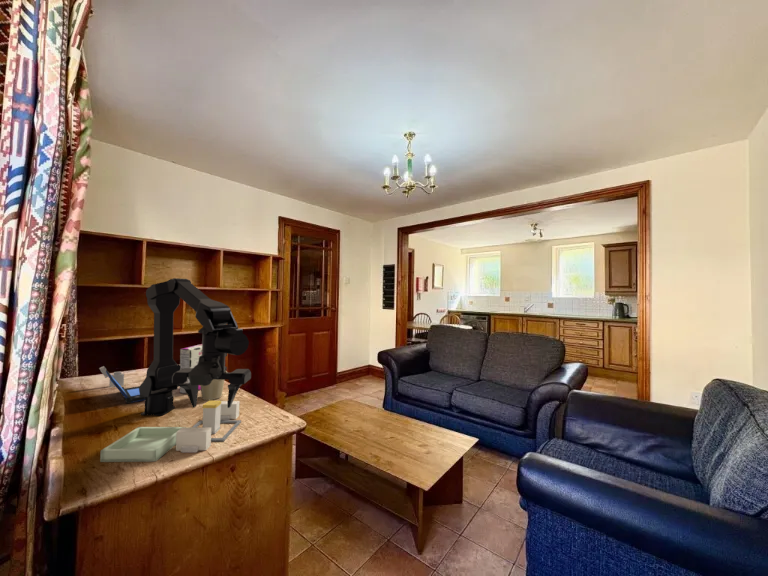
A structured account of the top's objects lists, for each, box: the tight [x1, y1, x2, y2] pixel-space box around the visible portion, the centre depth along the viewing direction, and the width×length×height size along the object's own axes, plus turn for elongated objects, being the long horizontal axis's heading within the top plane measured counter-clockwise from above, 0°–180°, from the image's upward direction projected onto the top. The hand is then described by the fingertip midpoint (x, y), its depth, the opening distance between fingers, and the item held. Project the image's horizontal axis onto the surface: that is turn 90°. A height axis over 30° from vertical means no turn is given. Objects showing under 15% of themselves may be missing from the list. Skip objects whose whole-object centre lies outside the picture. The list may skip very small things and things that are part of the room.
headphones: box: [175, 400, 242, 453], centre depth 85 cm, size 12×22×4 cm, turn 4°
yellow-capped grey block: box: [202, 400, 222, 435], centre depth 85 cm, size 3×3×8 cm
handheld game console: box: [106, 370, 145, 404], centre depth 109 cm, size 16×13×9 cm
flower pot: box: [200, 370, 228, 401], centre depth 110 cm, size 9×9×9 cm
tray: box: [99, 426, 183, 463], centre depth 75 cm, size 12×12×2 cm
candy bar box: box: [179, 343, 202, 394], centre depth 118 cm, size 11×5×16 cm, turn 168°
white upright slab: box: [99, 365, 125, 388], centre depth 118 cm, size 7×2×8 cm, turn 133°
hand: (211, 407), depth 85 cm, fingers open, 9 cm apart
